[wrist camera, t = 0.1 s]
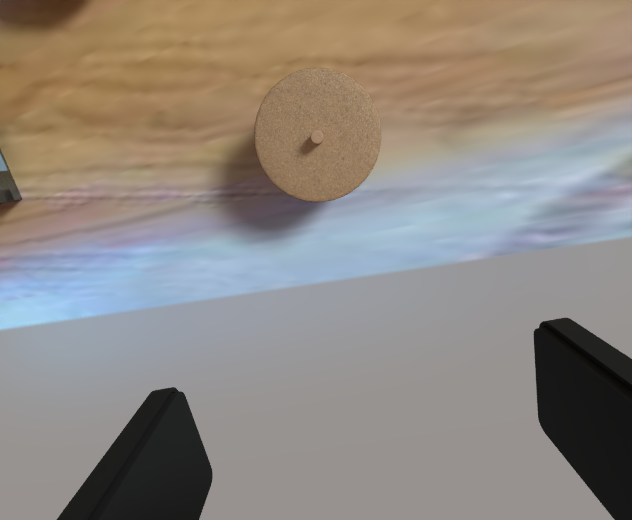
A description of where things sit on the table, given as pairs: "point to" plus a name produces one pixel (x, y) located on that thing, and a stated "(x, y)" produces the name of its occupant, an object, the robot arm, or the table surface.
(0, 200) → the rail
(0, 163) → the carriage
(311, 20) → the table surface
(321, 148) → the lidded jar
